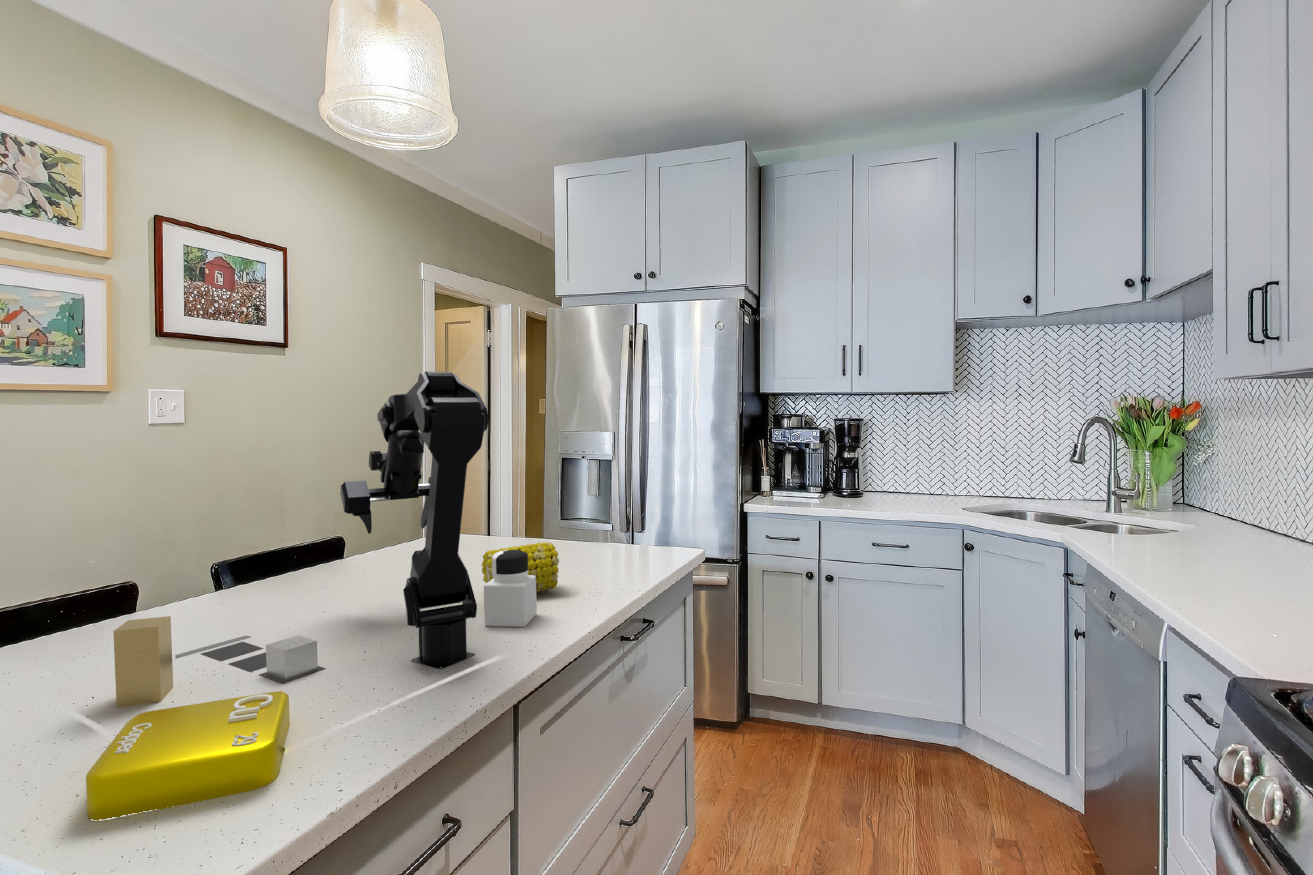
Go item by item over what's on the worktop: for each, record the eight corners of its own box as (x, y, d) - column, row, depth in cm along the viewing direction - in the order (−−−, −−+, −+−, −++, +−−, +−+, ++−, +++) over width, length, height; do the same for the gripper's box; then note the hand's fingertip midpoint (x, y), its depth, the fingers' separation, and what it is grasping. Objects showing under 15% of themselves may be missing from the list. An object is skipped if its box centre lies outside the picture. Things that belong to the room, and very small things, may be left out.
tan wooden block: (173, 692, 86) (170, 616, 85) (161, 706, 82) (158, 626, 81) (131, 697, 84) (128, 620, 84) (116, 712, 80) (113, 630, 80)
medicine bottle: (537, 614, 117) (535, 547, 117) (525, 627, 110) (523, 556, 110) (498, 613, 118) (496, 547, 118) (483, 626, 111) (482, 555, 110)
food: (478, 606, 123) (476, 552, 123) (483, 589, 135) (482, 540, 134) (560, 601, 126) (559, 548, 125) (558, 585, 137) (558, 537, 137)
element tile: (134, 751, 71) (132, 708, 71) (292, 724, 77) (290, 683, 77) (79, 831, 58) (76, 777, 57) (276, 790, 64) (274, 741, 63)
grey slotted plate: (343, 669, 93) (343, 664, 93) (271, 695, 84) (271, 690, 84) (246, 638, 106) (246, 634, 106) (175, 658, 98) (175, 654, 98)
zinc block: (317, 669, 91) (316, 640, 91) (285, 680, 87) (284, 650, 87) (299, 663, 94) (298, 635, 94) (266, 673, 90) (265, 644, 90)
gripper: (448, 433, 124) (437, 497, 131) (338, 435, 114) (334, 505, 121) (463, 468, 116) (451, 535, 124) (347, 474, 106) (342, 546, 114)
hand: (396, 529), depth 121 cm, fingers open, 9 cm apart
